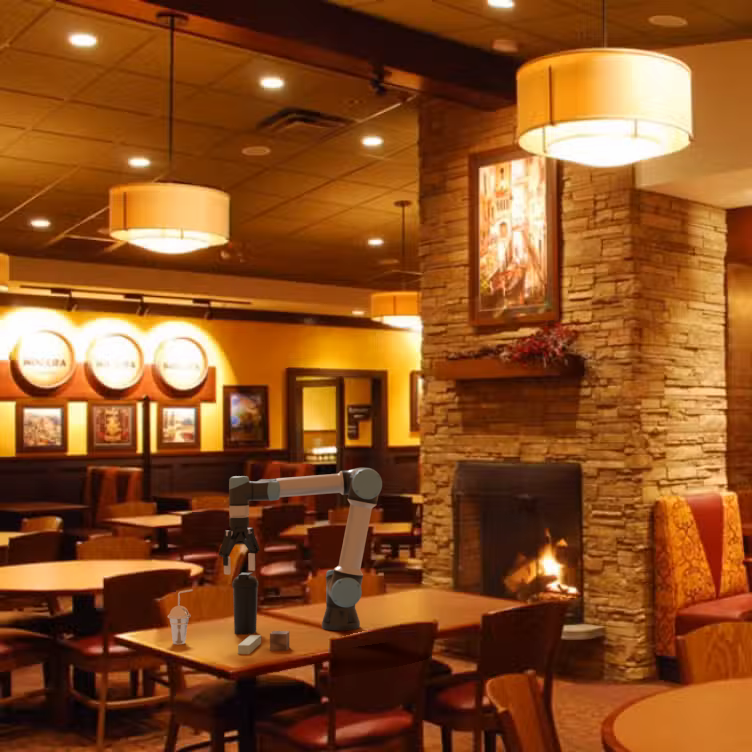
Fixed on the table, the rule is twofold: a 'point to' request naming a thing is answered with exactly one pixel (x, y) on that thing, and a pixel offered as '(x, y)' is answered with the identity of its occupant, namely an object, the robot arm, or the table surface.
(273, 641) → the block
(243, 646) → the cream rectangular bar
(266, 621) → the table surface
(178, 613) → the cup with straw
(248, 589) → the water bottle
